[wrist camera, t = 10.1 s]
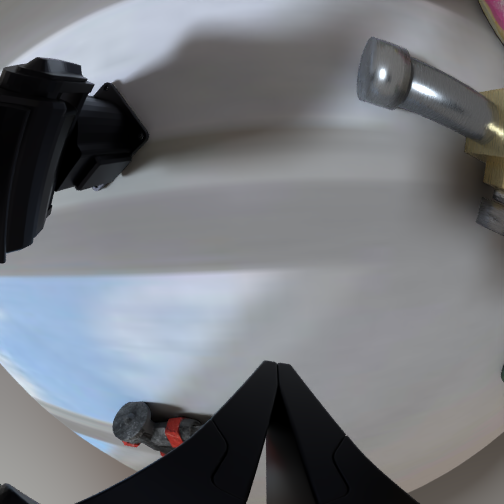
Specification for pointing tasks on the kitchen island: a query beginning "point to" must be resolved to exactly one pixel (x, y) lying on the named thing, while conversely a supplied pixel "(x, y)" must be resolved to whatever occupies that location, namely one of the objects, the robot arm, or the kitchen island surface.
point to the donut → (494, 15)
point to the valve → (151, 428)
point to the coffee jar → (502, 374)
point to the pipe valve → (437, 102)
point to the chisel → (491, 216)
